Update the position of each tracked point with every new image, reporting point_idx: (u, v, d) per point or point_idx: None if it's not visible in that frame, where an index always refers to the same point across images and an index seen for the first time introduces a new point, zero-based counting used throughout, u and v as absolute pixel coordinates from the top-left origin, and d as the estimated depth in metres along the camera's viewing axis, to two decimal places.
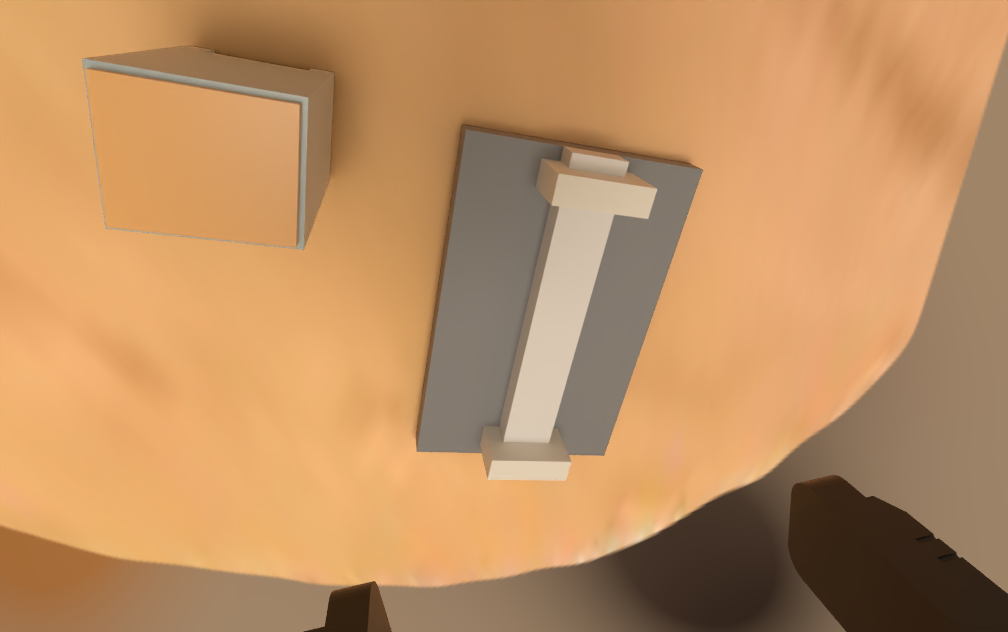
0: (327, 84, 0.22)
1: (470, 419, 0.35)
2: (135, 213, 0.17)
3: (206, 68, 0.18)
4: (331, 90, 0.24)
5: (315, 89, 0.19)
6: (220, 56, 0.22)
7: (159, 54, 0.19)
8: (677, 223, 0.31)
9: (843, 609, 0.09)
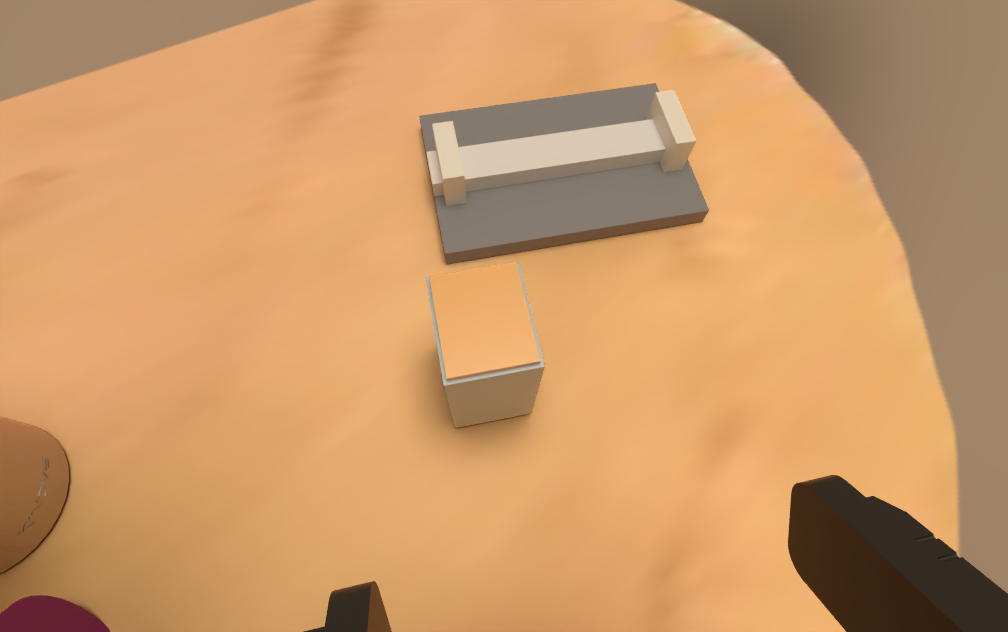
0: None
1: (661, 183, 0.42)
2: (525, 346, 0.27)
3: None
4: None
5: None
6: None
7: None
8: (458, 114, 0.44)
9: (843, 609, 0.09)
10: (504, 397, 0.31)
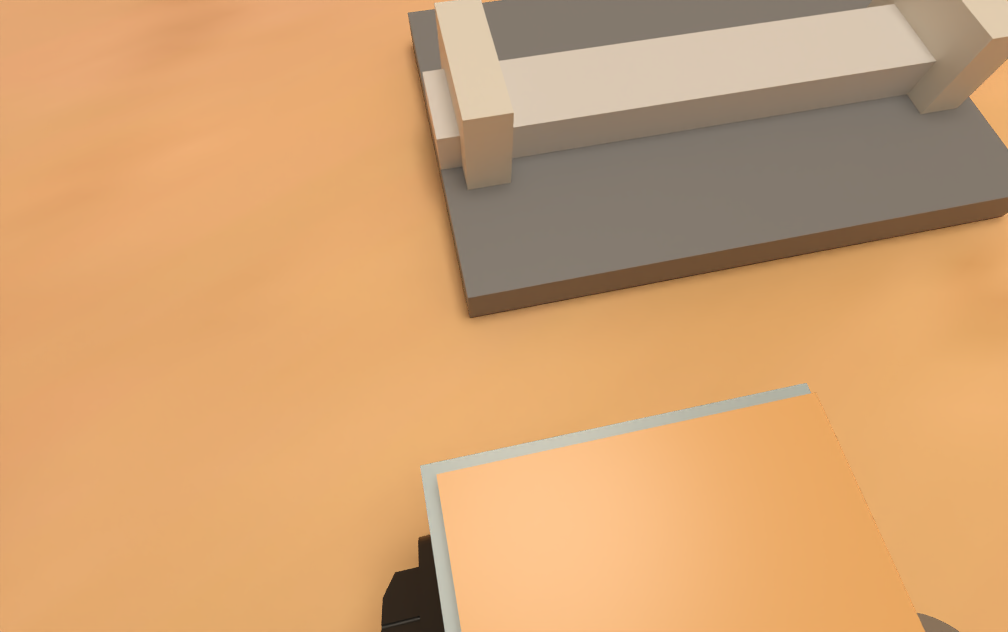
0: None
1: (922, 135, 0.20)
2: None
3: None
4: None
5: None
6: None
7: None
8: (485, 10, 0.22)
9: None
10: None
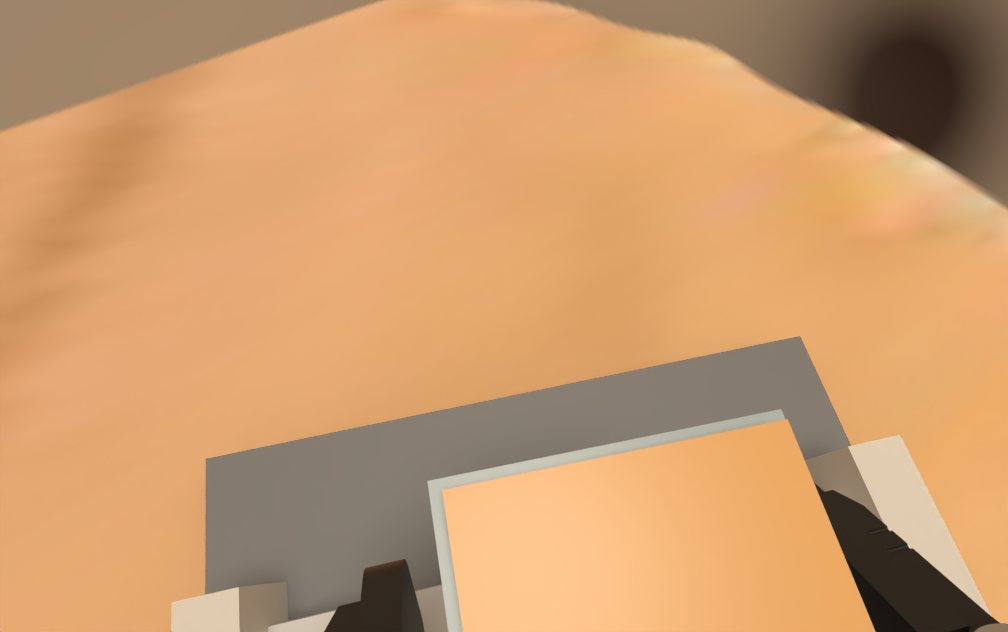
0: None
1: None
2: None
3: None
4: None
5: None
6: None
7: None
8: (307, 452, 0.17)
9: None
10: None
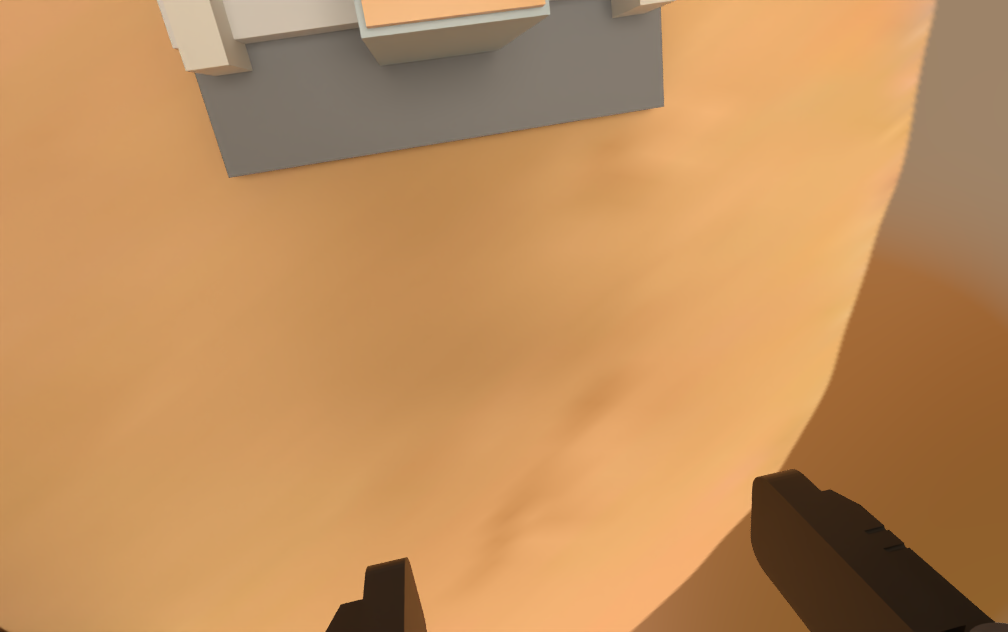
0: None
1: (603, 43, 0.24)
2: None
3: None
4: None
5: None
6: None
7: None
8: None
9: (799, 599, 0.10)
10: (464, 42, 0.18)
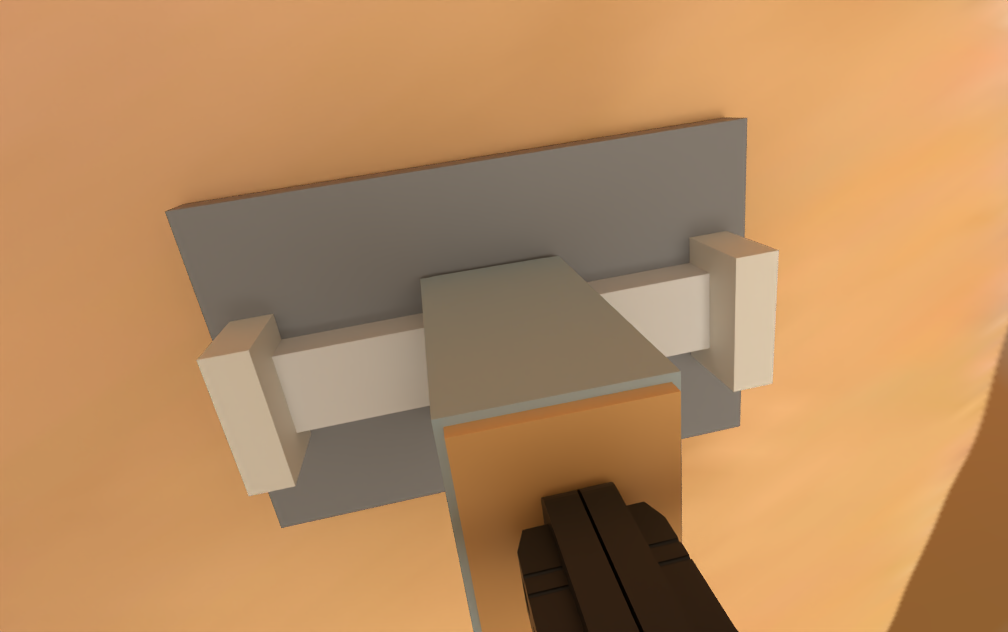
0: (429, 309, 0.16)
1: None
2: None
3: None
4: (440, 286, 0.18)
5: (427, 370, 0.12)
6: None
7: None
8: (267, 209, 0.18)
9: None
10: None
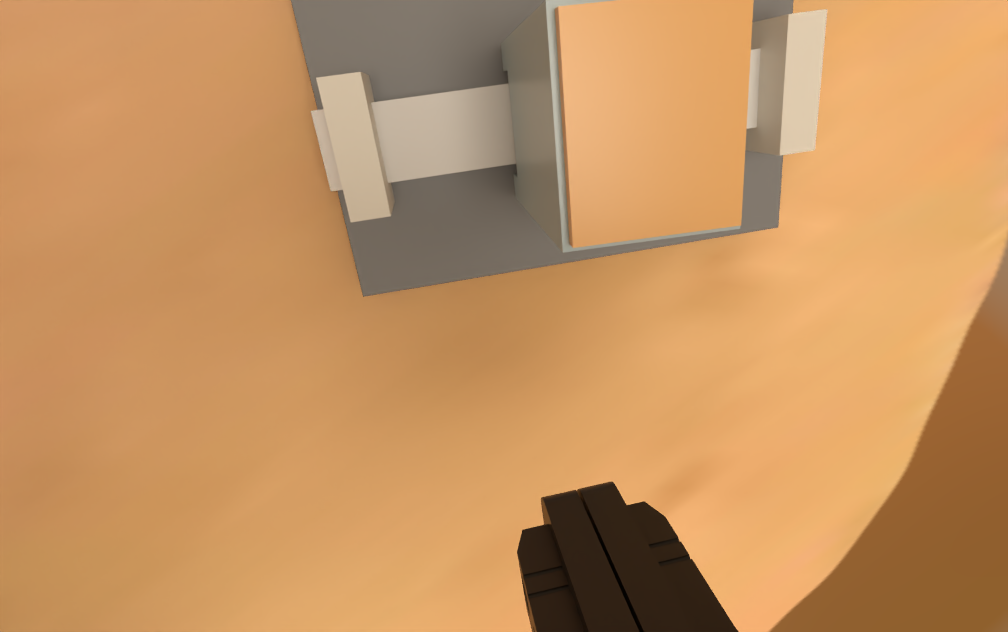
0: None
1: None
2: (722, 195, 0.14)
3: (538, 150, 0.16)
4: None
5: (530, 16, 0.15)
6: (518, 160, 0.21)
7: (534, 205, 0.19)
8: None
9: None
10: None
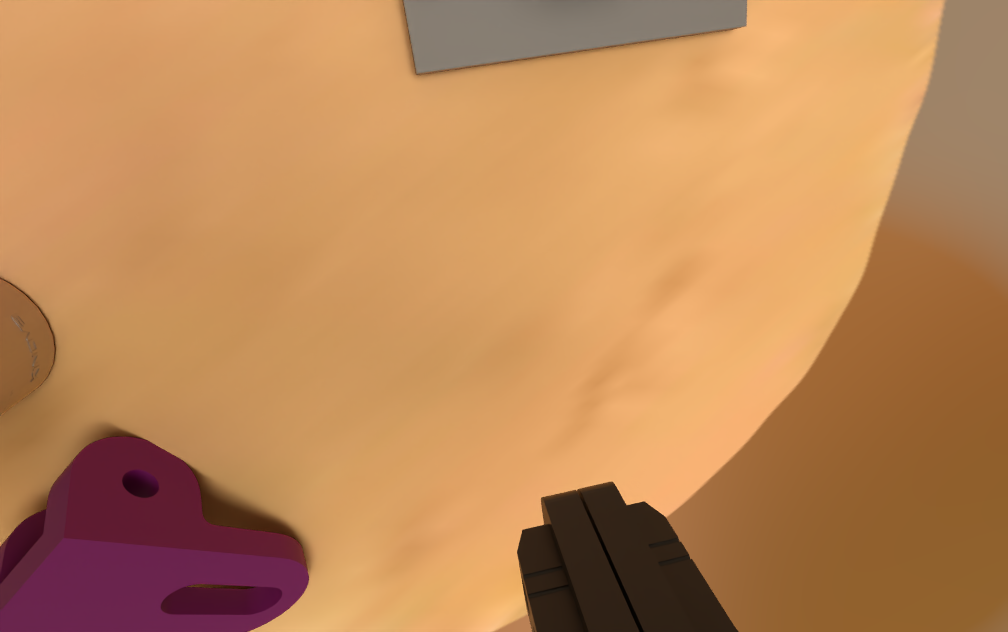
0: None
1: None
2: None
3: None
4: None
5: None
6: None
7: None
8: None
9: None
10: None
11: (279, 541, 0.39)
